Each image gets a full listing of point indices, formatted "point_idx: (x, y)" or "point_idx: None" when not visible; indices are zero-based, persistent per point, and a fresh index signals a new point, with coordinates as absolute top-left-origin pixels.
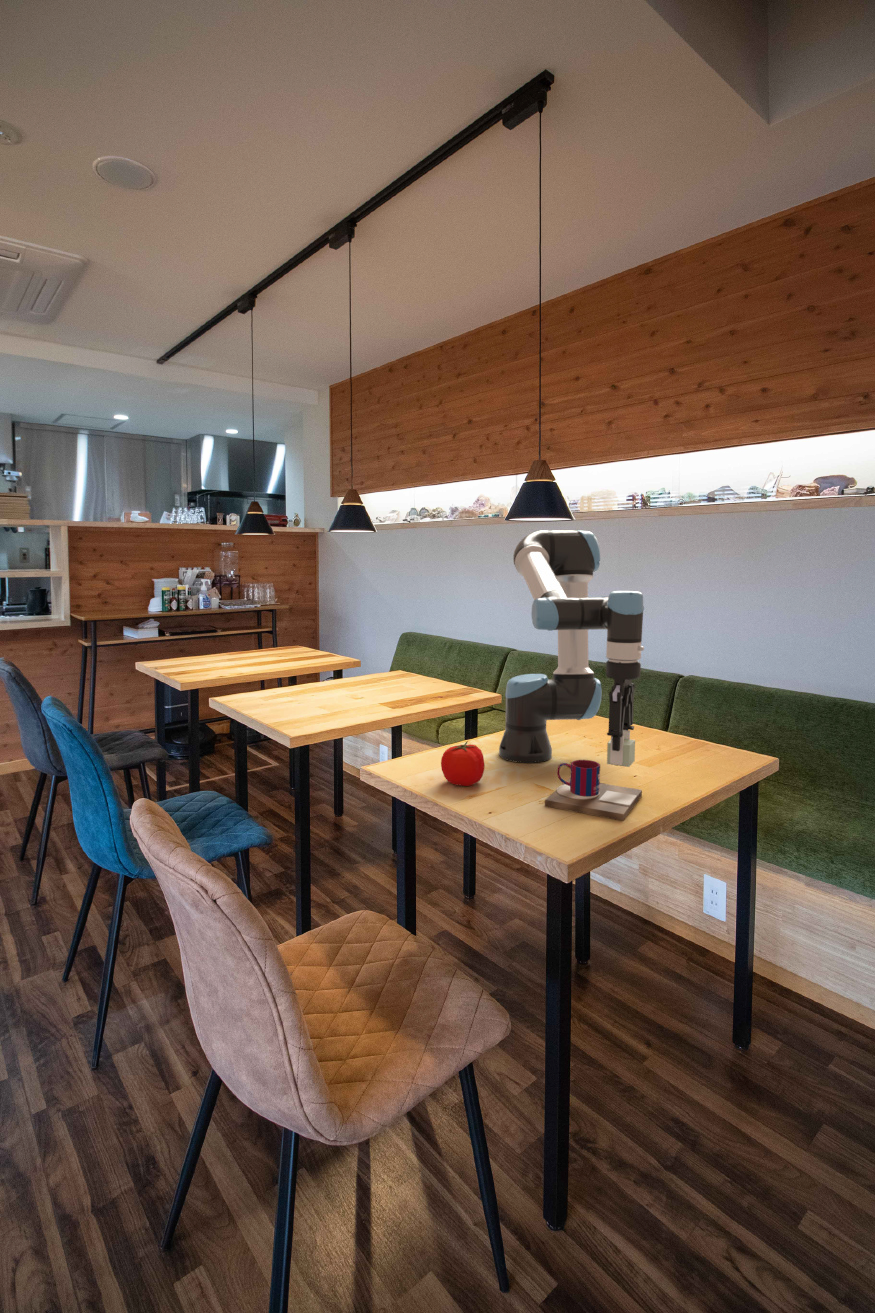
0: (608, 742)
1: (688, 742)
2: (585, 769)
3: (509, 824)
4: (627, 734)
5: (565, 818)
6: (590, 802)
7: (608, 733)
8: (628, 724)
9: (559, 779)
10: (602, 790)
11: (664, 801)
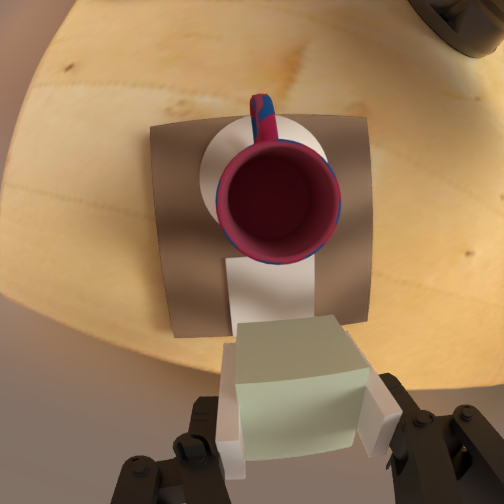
0: (241, 387)
1: None
2: (220, 224)
3: (36, 134)
4: (366, 439)
5: (111, 211)
6: (200, 242)
7: (125, 462)
8: (393, 476)
9: (251, 114)
10: None
11: None
